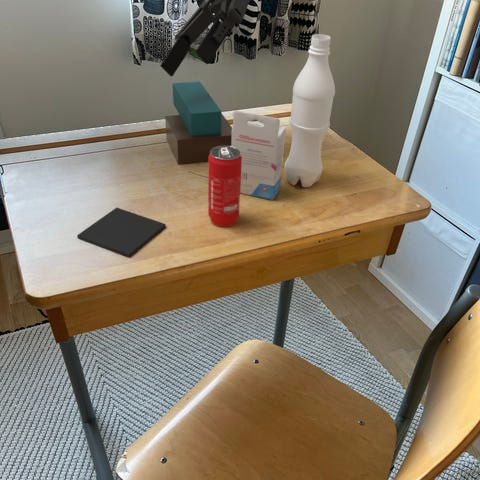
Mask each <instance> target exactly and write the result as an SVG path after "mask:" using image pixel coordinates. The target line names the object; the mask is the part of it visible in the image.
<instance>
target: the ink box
mask: <svg viewBox="0 0 480 480" xmlns="http://www.w3.org/2000/svg"><path fill="white" fill-rule="evenodd" d="M256 121H257V122H256ZM280 121H281V120H280V118H278V117H273V116H267V115H262V114H256V113H250V112H244V111H238V110H234V111H233V112H232V146H231V147H235V148H237V149H238V150H239V151H240V153H241V154H240V155H241V157H242V166H241V187H240V194H242V195H247V196H251V197H257V198H262V199H266V200H271V201H273V200H274V199H275V198H276V196H277V194H278V193H279V191H280V189H281V184H282V173H283V162H284V153H285V143H286V142H285V141H286V132H287V131H286V130H287V129H286V126H285V127H284V126H280V124H281V123H280Z"/></svg>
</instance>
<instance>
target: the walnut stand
mask: <svg viewBox="0 0 480 480" xmlns="http://www.w3.org/2000/svg"><path fill="white" fill-rule="evenodd" d="M164 119H165V120H164V123H165V137H166V142H167V144H168V147H169V148H170V150H171V152H172V154H173V156H174V158H175V161H176V162H177V164H178V165H187V164H188V165H189V164H197V163H199V164H200V163H207V162H208V157H209V155H210V151H211V149H212V148H214V147H217V146H232V128H233V126H232V125H231V124H230V123H229V121H228V120H227V118H226V117H225V116H224V114H223V113H222V114H221V134H213V135H202V136H191V135H190V133H189V131H188V129H187V128H186V126H185V124H184V122H183V120H182V119H181V117H180V115H179V114H176V115H165V116H164Z"/></svg>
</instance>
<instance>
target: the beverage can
mask: <svg viewBox="0 0 480 480" xmlns="http://www.w3.org/2000/svg"><path fill="white" fill-rule="evenodd" d="M240 154H241V153H240V151H239V150H238V149H237V148H235V147H231V146H217V147H214V148H212V149H211V151H210V155H209V157H208V163H207V165H208V166H207V167H208V169H207V170H208V175H207V177H208V179H207V180H208V181H207V182H208V183H207V184H208V190H207V191H208V192H207V193H208V194H207V195H208V200H207V205H208V206H207V207H208V209H207V210H208V213H207V214H208V217H209V219H210V222H211V223H212V224H213V225H215V226H217V227H220V228H221V227H223V228H225V227H226V228H227V227H231V226H234V225H235V224H236V223H237V221H238V219H239V217H240V207H241V193H240V187H241V166H242V157H241V155H240Z"/></svg>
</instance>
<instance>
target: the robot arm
mask: <svg viewBox="0 0 480 480" xmlns="http://www.w3.org/2000/svg"><path fill="white" fill-rule="evenodd" d="M251 1H252V0H203V1H202V2H201V4H200V5H199V7H198V8H197V9H196V10H195V11H194V13H193V14H192V15H191V16H190V18H189V19H188V20H187V21H186V22H185V24H184V25H183V26H182V27H181V28H180V30H179V31H178V32H177V33H176V34H175V36H174V38H175V42H174V43H173V45H172V47H171V48H170V50H169V52H168V53H167V54H166V56H165V57H164V59H163V60H162V62H161V63H160V65H159V66H160V67H161V69H162V70H163V71H164V72H166V74H167V75H168V76H170V77H171V78H172V77H173V76H174V75H175V73H176V72H177V70H178V69H179V67H180V66H181V65H182V62H183V61H184V59H185V58H186V56H187V55H188V53H190V52H192V50H193V49H192V47H191V46H192V44H194V43H195V41H197V39H198V38H199V37H200V36H201V35H202V34H203V33H204V32H205V31H206V30H207V29H208V28H209V27H210V28H209V29H208V31H207V32H206V34H205V36H204V37H203V38H202V40H201V42H200V43H199V45H198V46H197V47H196V49H195V51H194V52H195V54H196V55H197V56H198V57H199V58H200V59H201V60H202V61H203V62H204V63H205V65H209V64H210V63H211V61H212V59H213V58H214V57H215V55H216V53H217V52H218V50H219V48H220V47H221V46H222V44H223V43H224V41H225V40H226V38H227V36H228V34H229V33H230V32H229V31H232V30H234V29H235V26H236V25H237V26H240V24H242V23H243V20H244V18H245V15H246V12H247V9H248V6H249V3H250V2H251ZM210 25H211V26H210Z"/></svg>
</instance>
